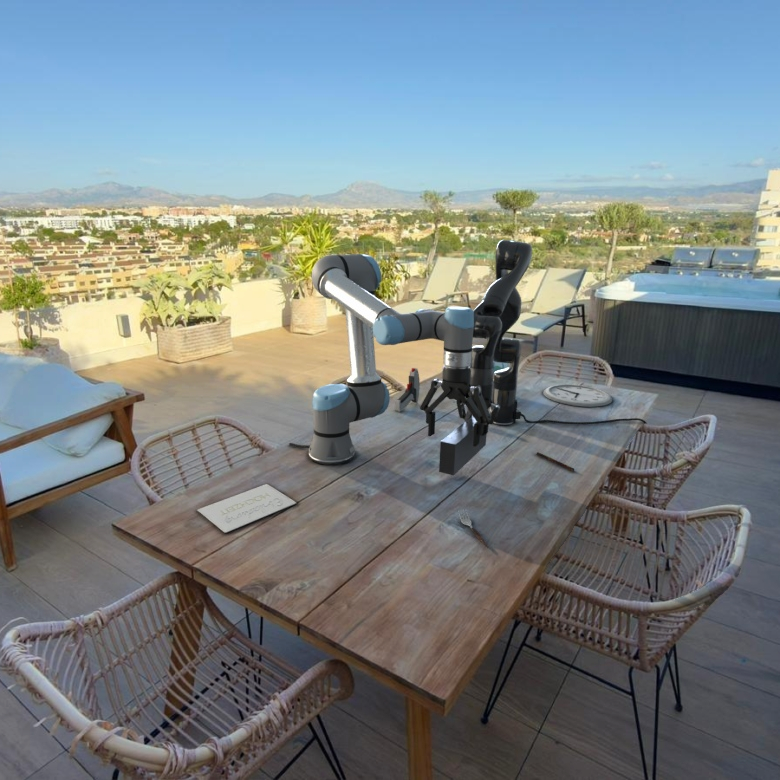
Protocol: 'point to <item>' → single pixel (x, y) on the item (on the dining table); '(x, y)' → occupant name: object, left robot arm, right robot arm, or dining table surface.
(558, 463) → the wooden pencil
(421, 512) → the dining table surface
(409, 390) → the toy gun
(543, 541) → the dining table surface
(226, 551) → the dining table surface
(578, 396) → the wall clock
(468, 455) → the bar
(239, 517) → the invitation card
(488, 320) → the right robot arm
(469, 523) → the fork
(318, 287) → the left robot arm
